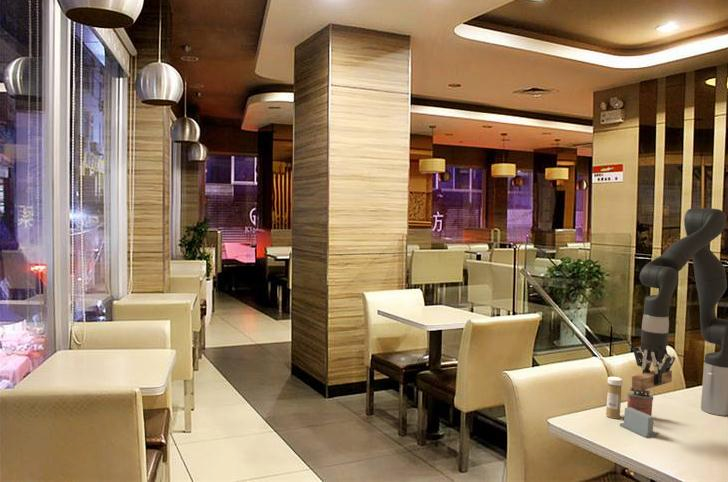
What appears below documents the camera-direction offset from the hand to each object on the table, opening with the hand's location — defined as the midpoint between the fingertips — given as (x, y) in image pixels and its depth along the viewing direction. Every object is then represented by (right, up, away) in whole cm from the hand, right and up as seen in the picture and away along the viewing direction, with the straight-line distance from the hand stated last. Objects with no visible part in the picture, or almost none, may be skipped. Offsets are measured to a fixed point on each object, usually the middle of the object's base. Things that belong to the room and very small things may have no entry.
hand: (651, 382), depth 182 cm
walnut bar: (0, -1, 0) cm, 1 cm away
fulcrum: (-2, -17, +4) cm, 17 cm away
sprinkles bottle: (-5, -16, +16) cm, 23 cm away
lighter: (+4, -16, +17) cm, 24 cm away
